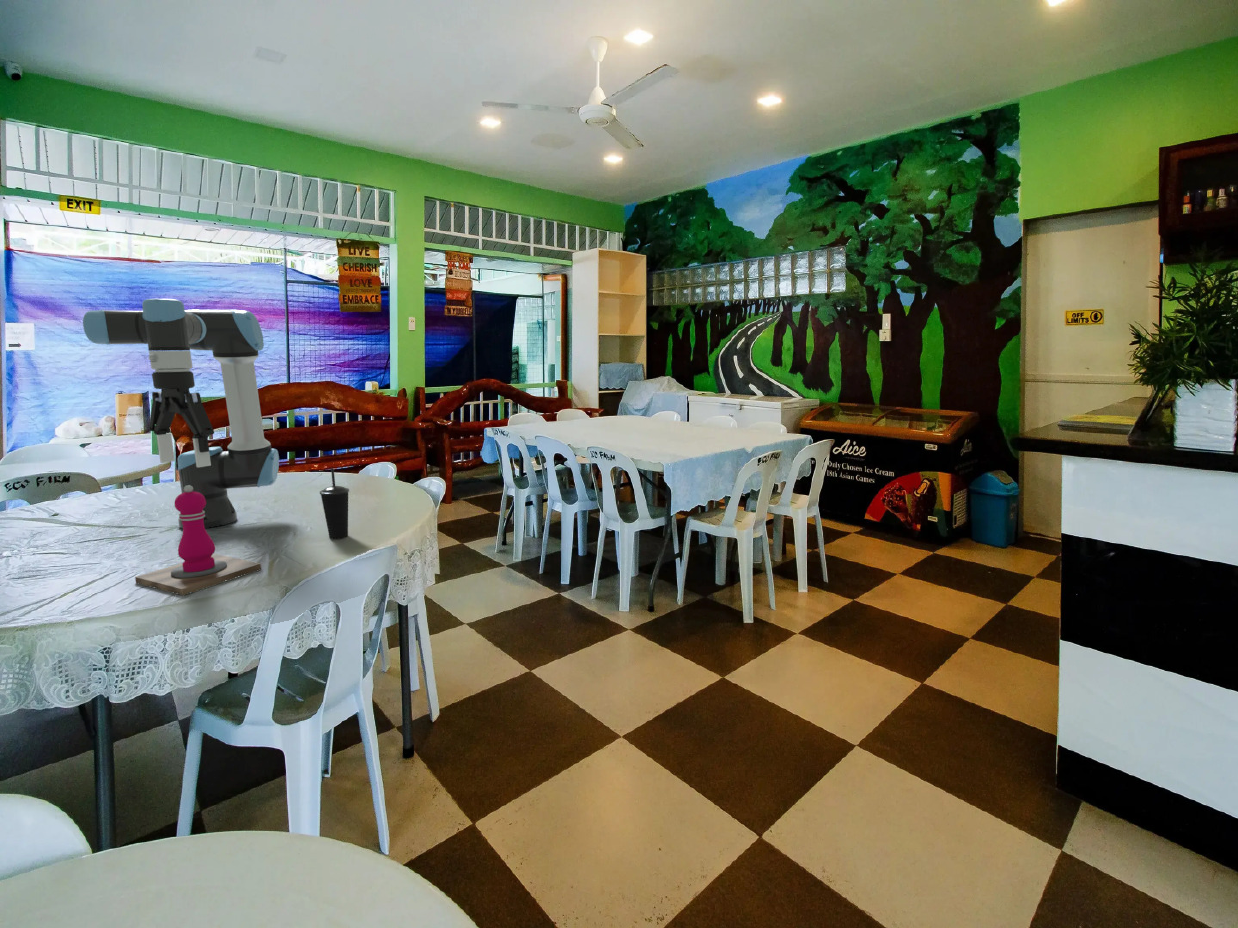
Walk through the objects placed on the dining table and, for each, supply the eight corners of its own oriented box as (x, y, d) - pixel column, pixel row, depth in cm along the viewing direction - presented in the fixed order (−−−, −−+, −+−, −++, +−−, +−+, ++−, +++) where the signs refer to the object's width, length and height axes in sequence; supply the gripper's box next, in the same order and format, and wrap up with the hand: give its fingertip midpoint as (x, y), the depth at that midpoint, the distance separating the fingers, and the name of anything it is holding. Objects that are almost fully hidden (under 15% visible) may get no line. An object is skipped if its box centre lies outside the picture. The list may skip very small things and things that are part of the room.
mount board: (135, 583, 141) (134, 574, 141) (215, 559, 157) (214, 551, 157) (183, 595, 134) (182, 586, 133) (261, 569, 150) (260, 561, 149)
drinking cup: (334, 542, 171) (328, 472, 167) (318, 538, 175) (311, 469, 171) (358, 535, 177) (353, 467, 173) (342, 531, 181) (336, 465, 177)
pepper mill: (209, 560, 150) (198, 480, 147) (222, 566, 146) (212, 484, 143) (175, 569, 144) (163, 486, 141) (188, 575, 140) (176, 490, 137)
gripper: (121, 370, 139) (135, 462, 143) (188, 371, 128) (202, 471, 132) (157, 369, 145) (170, 457, 149) (224, 370, 135) (236, 465, 139)
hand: (185, 464), depth 141 cm, fingers open, 13 cm apart
